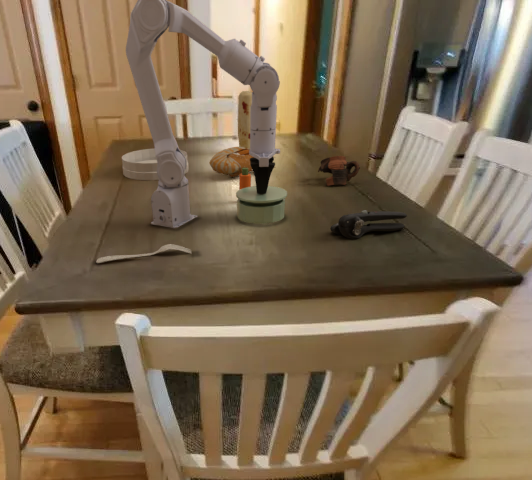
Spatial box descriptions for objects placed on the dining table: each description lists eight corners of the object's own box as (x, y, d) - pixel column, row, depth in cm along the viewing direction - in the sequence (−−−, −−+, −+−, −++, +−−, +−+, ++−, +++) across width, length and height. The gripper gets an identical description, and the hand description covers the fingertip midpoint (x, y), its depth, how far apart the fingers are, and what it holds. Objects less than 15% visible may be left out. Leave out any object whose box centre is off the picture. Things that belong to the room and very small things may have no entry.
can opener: (341, 245, 100) (345, 219, 96) (326, 234, 105) (329, 209, 102) (413, 234, 103) (419, 208, 100) (395, 223, 109) (400, 199, 105)
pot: (271, 228, 109) (272, 210, 106) (228, 221, 114) (228, 203, 112) (291, 214, 117) (293, 196, 114) (251, 207, 122) (251, 190, 119)
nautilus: (273, 169, 155) (277, 183, 143) (209, 167, 155) (208, 182, 143) (276, 143, 150) (281, 156, 138) (209, 141, 149) (209, 154, 138)
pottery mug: (316, 188, 136) (314, 158, 135) (323, 194, 144) (321, 167, 143) (358, 179, 130) (357, 148, 129) (363, 186, 139) (362, 158, 138)
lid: (273, 208, 106) (274, 187, 103) (226, 201, 111) (226, 181, 108) (295, 193, 114) (296, 174, 111) (251, 187, 119) (251, 169, 117)
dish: (112, 179, 150) (109, 162, 147) (137, 162, 167) (135, 147, 164) (177, 181, 145) (176, 164, 142) (196, 164, 162) (195, 148, 159)
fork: (100, 269, 100) (96, 257, 98) (195, 251, 100) (192, 238, 98) (99, 275, 97) (95, 263, 96) (196, 256, 98) (194, 243, 96)
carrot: (247, 206, 123) (247, 170, 118) (237, 204, 124) (237, 169, 119) (252, 203, 125) (253, 167, 120) (242, 201, 126) (242, 166, 121)
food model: (236, 150, 177) (236, 89, 165) (253, 149, 178) (254, 88, 165) (239, 156, 169) (239, 92, 157) (257, 155, 170) (258, 91, 158)
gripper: (283, 134, 97) (280, 200, 106) (278, 122, 109) (275, 182, 117) (250, 135, 98) (249, 201, 106) (248, 123, 109) (248, 183, 118)
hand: (261, 191), depth 112 cm, fingers closed on lid, 2 cm apart
